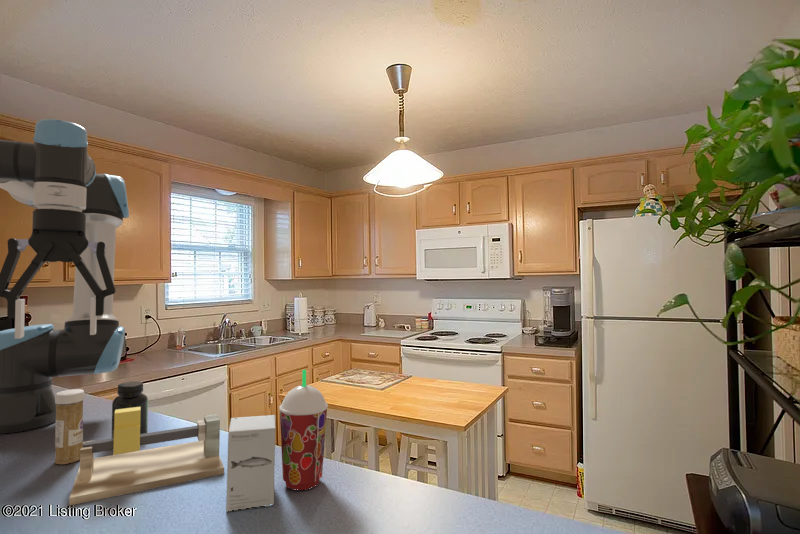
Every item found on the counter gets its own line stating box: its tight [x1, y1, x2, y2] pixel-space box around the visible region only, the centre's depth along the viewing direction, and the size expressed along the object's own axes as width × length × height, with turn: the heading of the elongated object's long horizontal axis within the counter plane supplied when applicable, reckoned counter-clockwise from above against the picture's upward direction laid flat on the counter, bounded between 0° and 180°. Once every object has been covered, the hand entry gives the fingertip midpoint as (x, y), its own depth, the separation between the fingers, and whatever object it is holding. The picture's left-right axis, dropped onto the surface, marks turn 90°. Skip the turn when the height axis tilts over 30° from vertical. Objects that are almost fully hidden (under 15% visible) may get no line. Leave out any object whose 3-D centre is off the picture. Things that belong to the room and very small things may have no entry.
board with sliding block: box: [68, 413, 225, 506], centre depth 83 cm, size 16×23×8 cm
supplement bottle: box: [110, 381, 149, 438], centre depth 99 cm, size 7×7×12 cm
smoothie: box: [278, 369, 329, 491], centre depth 79 cm, size 8×8×20 cm
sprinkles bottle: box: [54, 388, 85, 465], centre depth 87 cm, size 5×5×14 cm
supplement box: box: [225, 414, 277, 513], centre depth 73 cm, size 7×7×13 cm
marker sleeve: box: [112, 407, 141, 455], centre depth 81 cm, size 4×4×7 cm
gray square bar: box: [83, 425, 198, 454], centre depth 83 cm, size 2×21×2 cm, turn 120°
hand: (57, 335), depth 79 cm, fingers open, 10 cm apart
